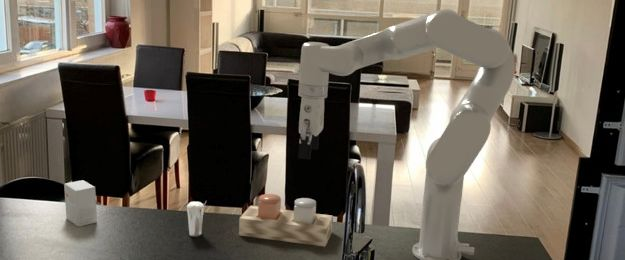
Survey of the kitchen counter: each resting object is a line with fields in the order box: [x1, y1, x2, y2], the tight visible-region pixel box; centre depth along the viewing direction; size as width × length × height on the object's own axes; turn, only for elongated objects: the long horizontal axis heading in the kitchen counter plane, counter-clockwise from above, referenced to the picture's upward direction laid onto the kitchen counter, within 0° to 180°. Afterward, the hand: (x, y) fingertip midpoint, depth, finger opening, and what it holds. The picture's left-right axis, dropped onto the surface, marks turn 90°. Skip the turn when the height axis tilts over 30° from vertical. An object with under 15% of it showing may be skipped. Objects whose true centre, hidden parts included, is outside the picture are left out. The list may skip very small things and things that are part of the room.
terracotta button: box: [257, 193, 282, 220], centre depth 169 cm, size 6×6×6 cm
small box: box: [63, 179, 98, 227], centre depth 171 cm, size 8×6×10 cm
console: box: [238, 205, 334, 248], centre depth 169 cm, size 24×10×5 cm, turn 78°
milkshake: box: [186, 201, 207, 237], centre depth 165 cm, size 4×5×10 cm
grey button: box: [293, 197, 317, 224], centre depth 167 cm, size 6×6×6 cm
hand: (308, 153), depth 163 cm, fingers open, 9 cm apart
